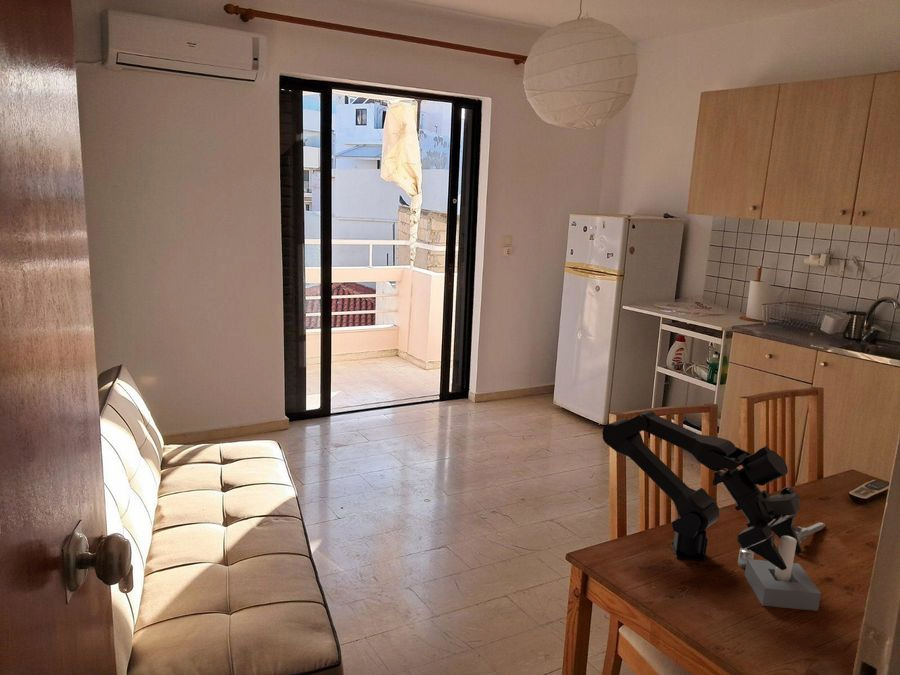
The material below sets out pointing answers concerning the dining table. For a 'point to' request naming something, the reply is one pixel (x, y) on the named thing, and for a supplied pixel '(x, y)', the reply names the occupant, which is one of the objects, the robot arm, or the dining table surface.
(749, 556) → the short stub
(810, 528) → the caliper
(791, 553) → the ivory pin
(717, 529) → the dining table surface
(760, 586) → the hole block
